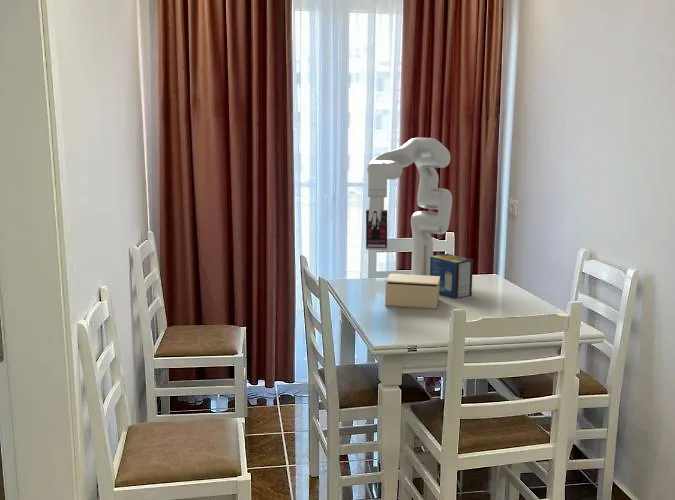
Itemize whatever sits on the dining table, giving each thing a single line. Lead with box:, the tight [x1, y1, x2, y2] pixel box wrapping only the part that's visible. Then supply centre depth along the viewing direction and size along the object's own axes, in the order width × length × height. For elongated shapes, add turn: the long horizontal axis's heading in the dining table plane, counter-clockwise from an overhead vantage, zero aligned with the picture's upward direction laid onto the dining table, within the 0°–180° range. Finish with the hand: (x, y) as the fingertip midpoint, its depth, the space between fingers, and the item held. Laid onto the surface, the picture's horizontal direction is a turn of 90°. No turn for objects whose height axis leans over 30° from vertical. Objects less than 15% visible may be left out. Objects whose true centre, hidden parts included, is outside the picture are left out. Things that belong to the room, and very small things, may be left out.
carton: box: [384, 280, 440, 310], centre depth 273 cm, size 16×20×9 cm
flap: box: [384, 273, 440, 285], centre depth 271 cm, size 16×20×1 cm
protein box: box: [430, 253, 474, 299], centre depth 287 cm, size 10×15×16 cm
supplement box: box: [365, 209, 388, 251], centre depth 275 cm, size 9×5×16 cm, turn 83°
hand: (376, 237), depth 276 cm, fingers closed on supplement box, 5 cm apart
